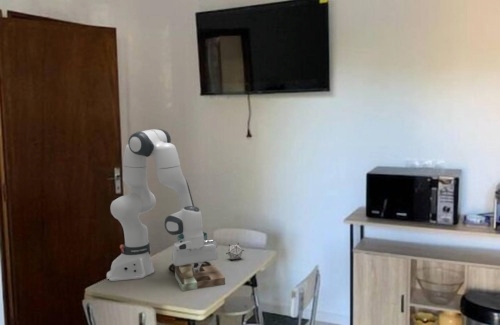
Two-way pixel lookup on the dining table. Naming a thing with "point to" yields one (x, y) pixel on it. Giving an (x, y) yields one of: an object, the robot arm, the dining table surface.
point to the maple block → (186, 270)
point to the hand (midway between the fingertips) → (196, 272)
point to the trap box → (200, 278)
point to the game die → (234, 251)
